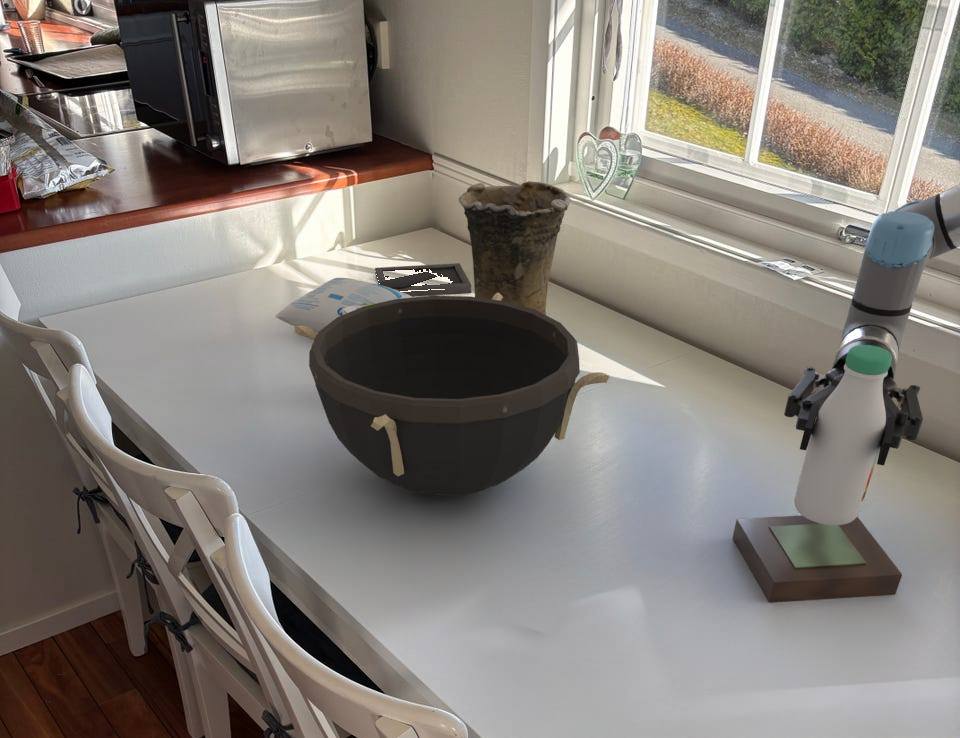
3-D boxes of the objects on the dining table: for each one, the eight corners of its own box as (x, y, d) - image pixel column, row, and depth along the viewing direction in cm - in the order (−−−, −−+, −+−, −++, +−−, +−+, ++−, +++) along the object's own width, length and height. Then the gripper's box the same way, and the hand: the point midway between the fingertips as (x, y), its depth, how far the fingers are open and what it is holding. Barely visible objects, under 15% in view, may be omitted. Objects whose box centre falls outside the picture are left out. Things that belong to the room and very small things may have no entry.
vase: (471, 375, 163) (472, 209, 146) (451, 334, 177) (449, 178, 160) (572, 366, 166) (584, 203, 149) (544, 327, 180) (553, 173, 163)
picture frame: (382, 298, 190) (471, 292, 193) (382, 288, 189) (471, 282, 192) (375, 275, 200) (459, 270, 203) (374, 265, 199) (459, 261, 202)
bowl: (373, 573, 118) (362, 426, 105) (290, 447, 143) (274, 316, 130) (617, 511, 130) (634, 372, 117) (502, 404, 155) (506, 280, 142)
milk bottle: (849, 534, 112) (899, 372, 99) (784, 515, 115) (825, 356, 102) (865, 504, 117) (915, 347, 104) (803, 487, 120) (844, 332, 107)
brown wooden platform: (848, 531, 127) (854, 510, 125) (895, 594, 116) (903, 573, 114) (732, 538, 125) (736, 517, 123) (769, 602, 115) (774, 581, 113)
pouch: (363, 315, 163) (418, 275, 176) (271, 300, 169) (330, 262, 183) (368, 359, 168) (421, 317, 181) (278, 342, 174) (336, 303, 188)
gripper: (940, 409, 121) (932, 495, 105) (776, 380, 127) (744, 458, 111) (959, 352, 116) (954, 433, 100) (788, 325, 122) (757, 398, 106)
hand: (844, 446), depth 105 cm, fingers closed on milk bottle, 8 cm apart
